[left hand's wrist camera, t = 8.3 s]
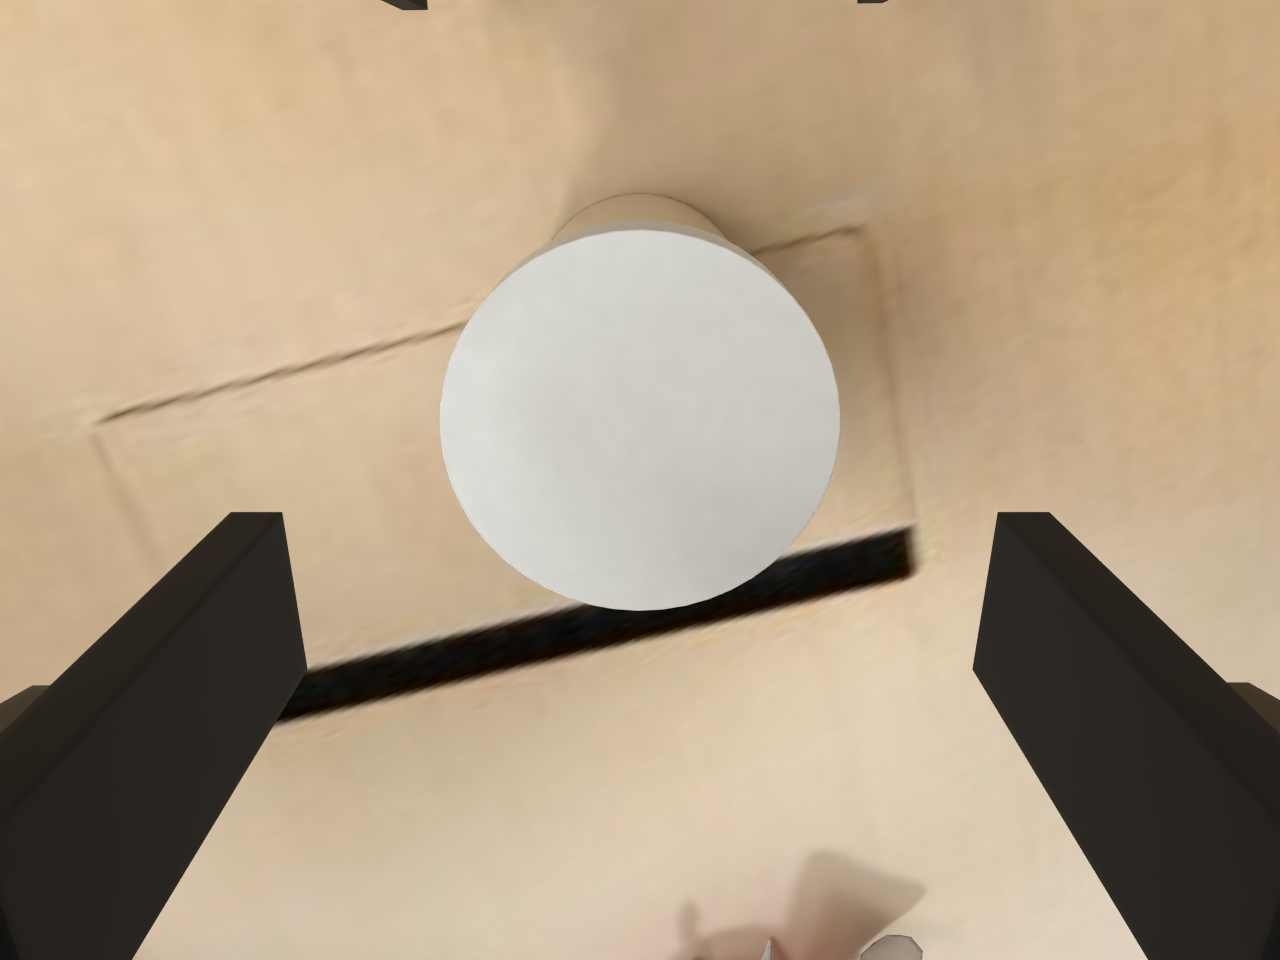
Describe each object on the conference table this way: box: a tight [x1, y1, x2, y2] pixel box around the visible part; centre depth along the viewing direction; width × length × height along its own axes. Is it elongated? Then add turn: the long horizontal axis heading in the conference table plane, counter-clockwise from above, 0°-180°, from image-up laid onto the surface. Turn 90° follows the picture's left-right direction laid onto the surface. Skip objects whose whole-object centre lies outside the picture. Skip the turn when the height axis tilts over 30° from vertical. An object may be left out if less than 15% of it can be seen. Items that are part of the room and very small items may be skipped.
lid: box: [440, 219, 841, 611], centre depth 21 cm, size 9×9×2 cm
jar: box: [552, 194, 728, 241], centre depth 28 cm, size 8×8×15 cm
